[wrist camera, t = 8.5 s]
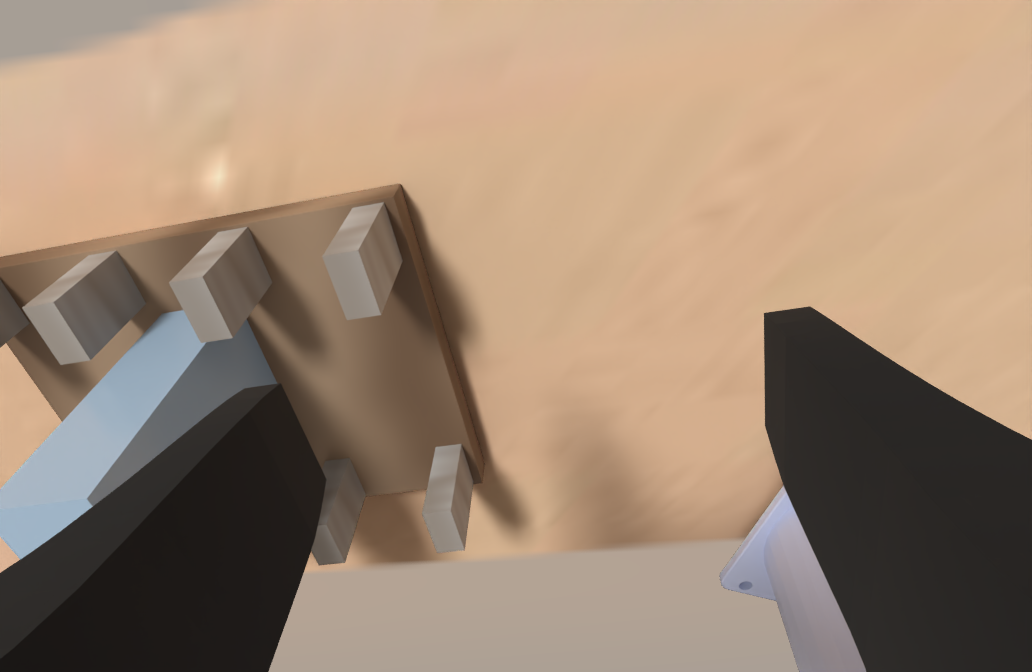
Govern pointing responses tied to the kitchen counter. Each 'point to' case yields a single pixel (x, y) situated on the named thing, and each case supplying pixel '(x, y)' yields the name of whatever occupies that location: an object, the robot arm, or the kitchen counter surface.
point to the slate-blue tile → (126, 425)
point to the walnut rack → (278, 338)
